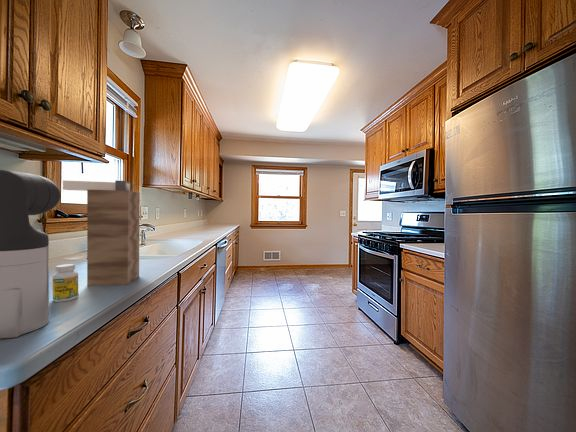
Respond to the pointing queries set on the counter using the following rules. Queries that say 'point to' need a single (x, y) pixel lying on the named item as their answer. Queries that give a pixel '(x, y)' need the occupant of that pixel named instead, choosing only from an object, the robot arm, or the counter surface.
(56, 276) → the supplement bottle
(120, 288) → the counter surface
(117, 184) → the white bar
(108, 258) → the walnut stand
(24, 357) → the counter surface
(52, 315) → the counter surface
